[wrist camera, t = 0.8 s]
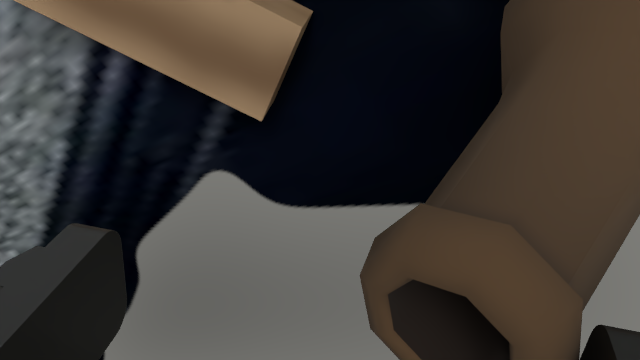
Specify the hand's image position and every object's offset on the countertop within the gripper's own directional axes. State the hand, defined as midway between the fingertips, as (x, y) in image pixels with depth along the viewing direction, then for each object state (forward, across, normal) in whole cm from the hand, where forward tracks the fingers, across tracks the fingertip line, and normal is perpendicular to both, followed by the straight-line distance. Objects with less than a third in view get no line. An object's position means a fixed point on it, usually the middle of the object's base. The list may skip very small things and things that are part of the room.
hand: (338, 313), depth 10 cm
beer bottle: (+21, -12, -5) cm, 25 cm away
